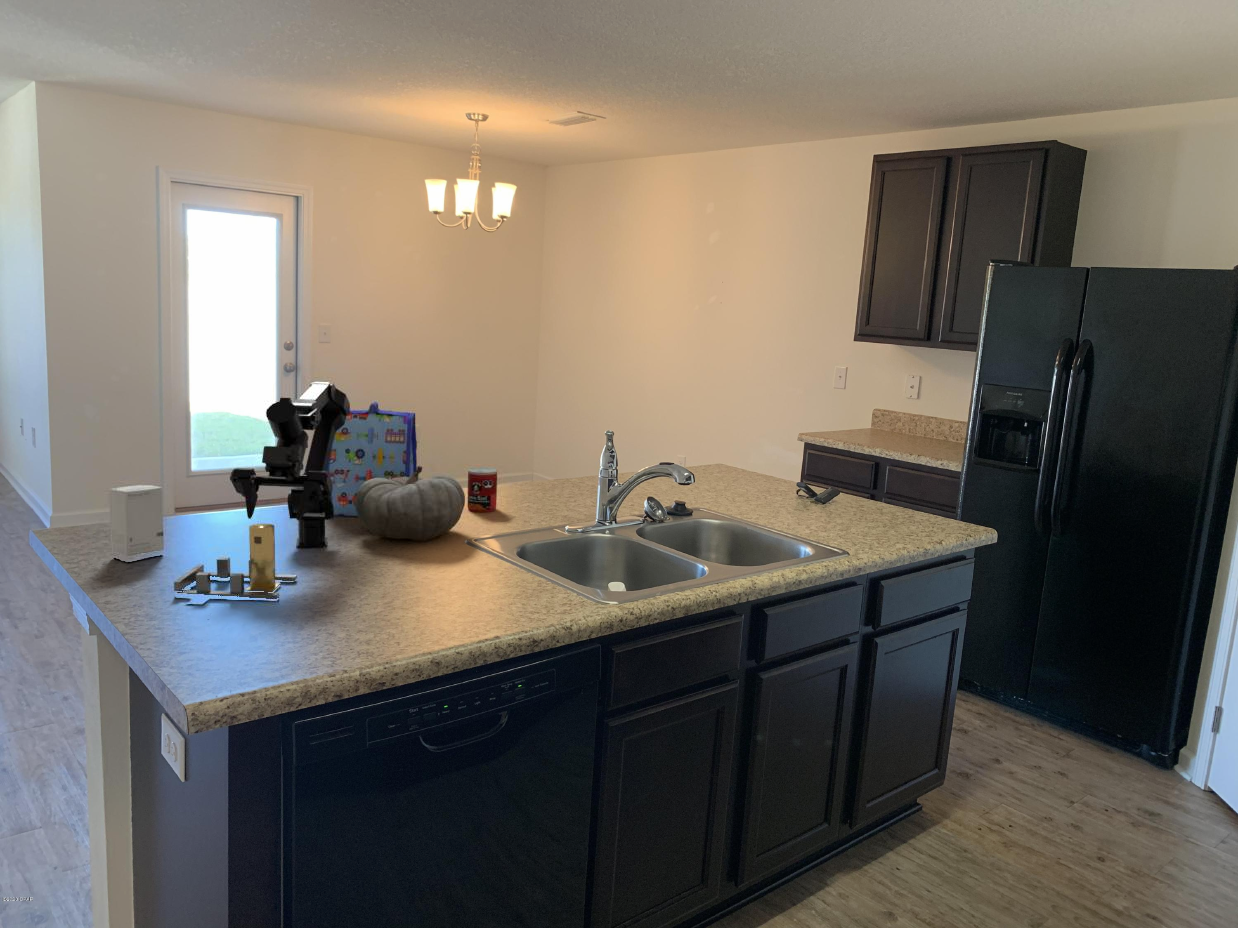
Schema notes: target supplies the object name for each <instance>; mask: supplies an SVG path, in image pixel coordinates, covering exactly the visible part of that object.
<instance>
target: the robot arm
mask: <svg viewBox="0 0 1238 928" xmlns="http://www.w3.org/2000/svg"><path fill="white" fill-rule="evenodd" d="M350 410H351V403H350V401H349V399H348V396H347V394H346V393H344V392H343V391H341V390H339V389H338V388H337V387H336V385H335V384H334V383H332V382H327V381H326V382H325V381H314V382H311V383H310V384H309V388H308V389H307V390H306V391H305V392H304V393H303V394H301V396H300V397H299V398H297V399H292V398H291V397H285V396H284V397H283V396H282V397H280V399H279V401H275V402H274V403H272V404H270V405H269V407H268V408H266V410H265V416H266V419H267V421H268V423H269V426H270V428H271V430H272V433H273V435H274V437H275V438H277V441H276V446H274V445H272V446H271V445H264V446H263V450H262V459H261V463H262V464H264V465H265V467H264V469H265V473H268V475H261V474H260V475H259V474H257V472H256V470H255V468H250V467H249V468H248V467H246V468H245V467H235V468H234V469H232V471H231V472H230V476H229V480H230V482H231V483H232V486H233V488H234V490H235V491H236V493H237V494H239V495H241V496H242V497H243V498H244V501H245V509H246V516H247V518H248V520H251V519H252V517H253V515H254V513H255V512H254V511H255V509H256V505H257V501H258V497H259V495H258V492H259V489H260V487H261V486H262V487H280V488H291V489H290V491H289V493H288V496H287V507H288V516H289V519H290V520H293V519H296V521H298V523H297V525H298V527H297V528H298V538H297V539H296V546H298V547H297V548H318V547H317V546H325V547H328V537H327V536H326V521H329V520H330V519H331V520H332V519H334V518H335V515H334V506H333V503H332V500H331V497H330V496H331V495H332V490H333V485H332V482H331V479H330V476H329V474H328V472H327V468H328V463H329V459H330V454H331V450H332V445H333V441H334V437H335V432H336V431H337V430H338V429H340V428H341V427H342V426H343V425H344V424H345V421H346V417H347V416H348V415H349V413H350ZM306 431H313V434H312V435H313V436H312V439H311V443H310V448H309V451H308V455H307V459H306V463H305V468H304V463H303V462H304V458H305V454H306V450H307V449H308V447H309V443H308V442H309V434H308V433H307V432H306ZM303 470H304V472H303V473H302V474H301V472H302V471H303ZM304 546H306V547H304ZM312 546H313V547H312ZM314 546H316V547H314Z"/></svg>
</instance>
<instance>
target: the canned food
mask: <svg viewBox="0 0 1238 928" xmlns="http://www.w3.org/2000/svg"><path fill="white" fill-rule="evenodd" d="M497 488H498V470H497V469H496V468H493V467H484V466H483V467H482V466H479V467H478V466H477V467H473V468H468V471H467V509H468V511H470V512H472V513H492V512H494V511H495V510H496V509H497V500H498V499H497V495H498V494H497V493H498V489H497Z"/></svg>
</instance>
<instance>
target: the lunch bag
mask: <svg viewBox="0 0 1238 928" xmlns="http://www.w3.org/2000/svg"><path fill="white" fill-rule="evenodd" d="M416 430H417V428H416V412H408V411H407V412H404V411H403V412H402V411H393V410H384V409H383V410H382V409H380V408H379V403H378V402H377V401H374V402H371V404H370V405H369V408H368V409H366V410H364V409H363V410H359V409H358V410H356V409H355V410H351V409H350V413H349V415H348V416H347V417H346V421H345V424H344V425H343V426H342V427H341V428H340V429H338V430H337V431H336V432H335V437H334V441H333V445H332V450H331V454H330V459H329V463H328V468H327V472H328V474H329V476H330V479H331V482H332V485H333V490H332V495H331V496H330V497H331V500H332V503H333V506H334V516H345V517H359V516H358V514H357V511H356V507H355V500H356V495H357V492H358V489H359V488H360V486H361V485H362V484H363V483H364V482H366V481H368V480H370V479H374V478H386V479H392V478H398V477H411V475H412V474H414V472H415V471H417V467H418V466H417V464H418V461H417V459H418V458H417V450H418V442H417V431H416Z"/></svg>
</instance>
